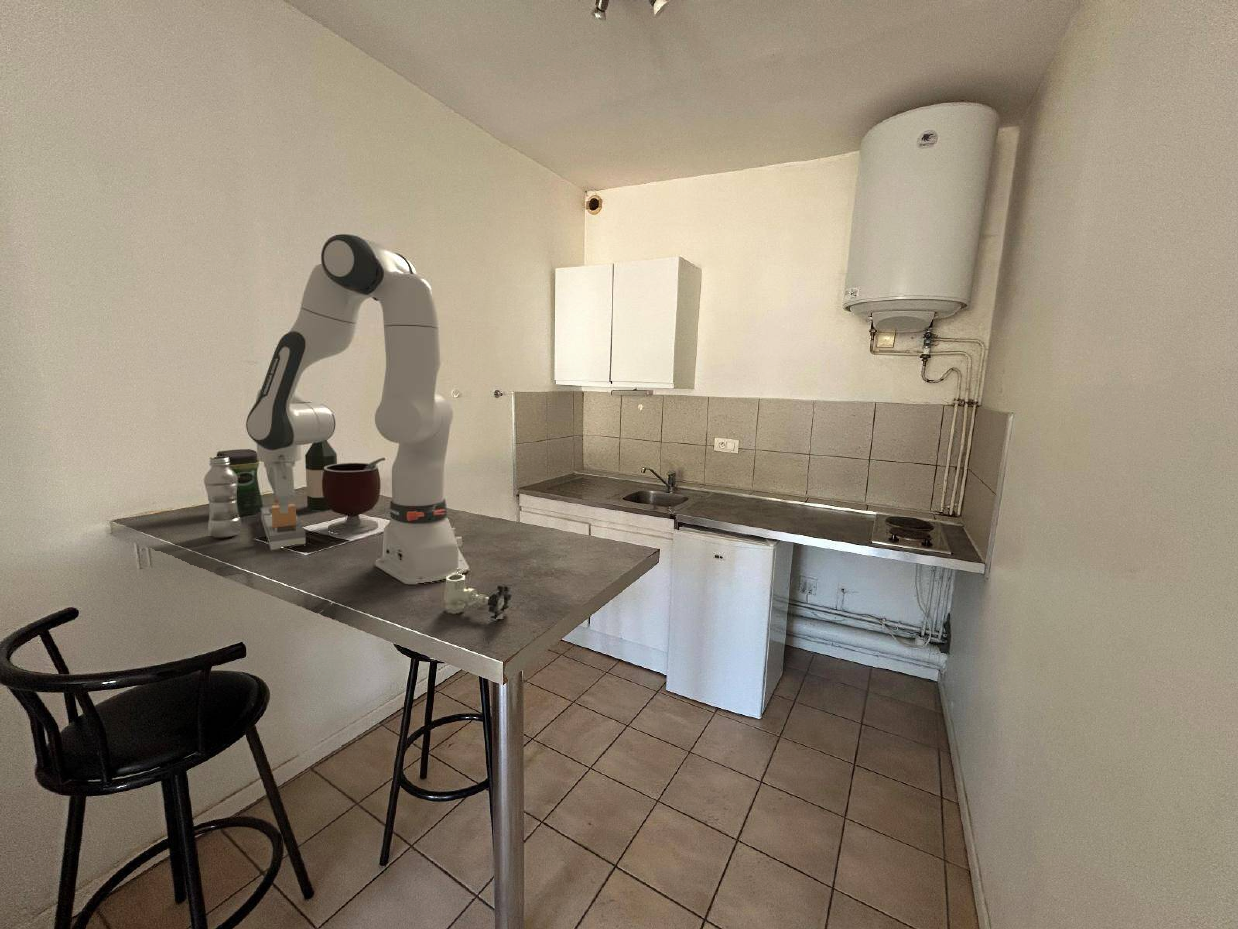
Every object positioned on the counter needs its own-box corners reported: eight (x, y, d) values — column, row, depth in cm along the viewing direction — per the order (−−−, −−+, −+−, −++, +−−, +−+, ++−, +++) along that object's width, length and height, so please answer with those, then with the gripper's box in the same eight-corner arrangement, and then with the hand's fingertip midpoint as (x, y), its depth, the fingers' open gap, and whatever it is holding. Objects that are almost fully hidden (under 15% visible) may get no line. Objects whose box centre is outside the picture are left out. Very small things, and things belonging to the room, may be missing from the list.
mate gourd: (314, 535, 127) (310, 459, 123) (337, 520, 140) (334, 451, 137) (377, 536, 129) (375, 461, 126) (394, 521, 142) (393, 453, 139)
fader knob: (297, 531, 123) (295, 506, 122) (273, 534, 120) (272, 508, 119) (295, 528, 125) (294, 503, 124) (272, 531, 122) (271, 505, 121)
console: (305, 545, 120) (305, 531, 119) (270, 550, 115) (269, 535, 115) (291, 516, 141) (290, 504, 140) (261, 520, 136) (260, 507, 136)
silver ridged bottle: (249, 533, 125) (243, 456, 122) (225, 541, 119) (219, 460, 115) (225, 531, 126) (220, 454, 122) (201, 539, 119) (194, 458, 116)
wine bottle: (336, 503, 158) (332, 409, 153) (341, 509, 151) (337, 412, 146) (305, 506, 152) (300, 409, 147) (309, 512, 146) (305, 411, 141)
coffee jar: (256, 507, 148) (252, 446, 144) (266, 512, 143) (262, 450, 140) (216, 513, 140) (211, 449, 137) (226, 519, 135) (220, 452, 132)
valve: (434, 616, 89) (493, 628, 86) (434, 582, 88) (493, 593, 85) (455, 601, 96) (511, 612, 93) (456, 569, 95) (512, 579, 91)
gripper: (300, 459, 113) (302, 517, 116) (289, 446, 129) (291, 497, 131) (267, 460, 109) (269, 520, 111) (260, 446, 125) (262, 499, 127)
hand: (281, 507), depth 121 cm, fingers open, 8 cm apart
